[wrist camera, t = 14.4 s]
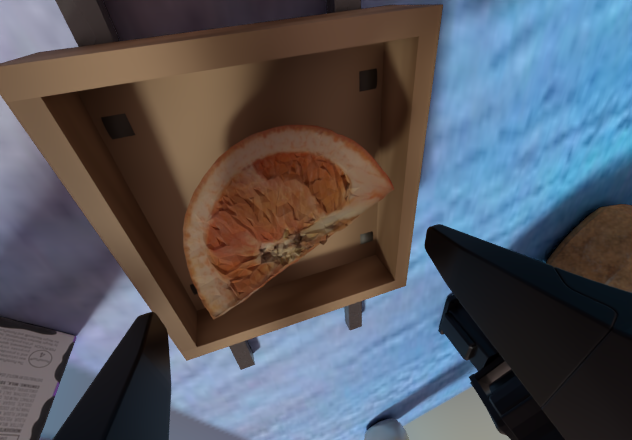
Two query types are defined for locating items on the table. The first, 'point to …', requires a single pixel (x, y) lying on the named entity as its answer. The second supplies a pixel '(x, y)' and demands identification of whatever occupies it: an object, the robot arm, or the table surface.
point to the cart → (221, 134)
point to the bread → (600, 248)
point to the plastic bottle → (386, 431)
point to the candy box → (29, 376)
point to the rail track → (97, 28)
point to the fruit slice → (273, 207)
